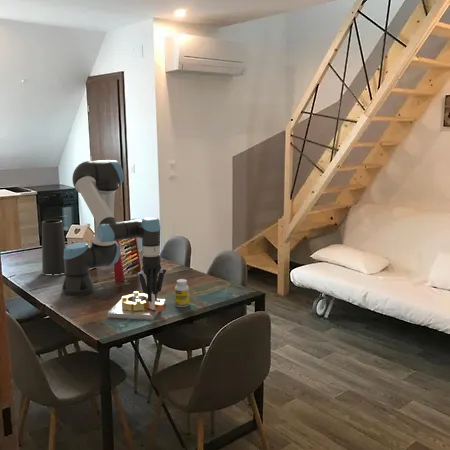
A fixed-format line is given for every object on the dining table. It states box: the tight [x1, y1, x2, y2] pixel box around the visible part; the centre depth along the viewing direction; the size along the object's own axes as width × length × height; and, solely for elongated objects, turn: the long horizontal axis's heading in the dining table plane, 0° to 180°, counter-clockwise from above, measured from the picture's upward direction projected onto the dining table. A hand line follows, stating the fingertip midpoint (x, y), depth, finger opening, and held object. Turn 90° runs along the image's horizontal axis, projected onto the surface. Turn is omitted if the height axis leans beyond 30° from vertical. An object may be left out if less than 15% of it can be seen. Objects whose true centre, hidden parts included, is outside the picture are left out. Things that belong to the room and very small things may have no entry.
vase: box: [41, 219, 67, 275], centre depth 281 cm, size 14×14×29 cm
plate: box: [107, 295, 166, 321], centre depth 226 cm, size 21×20×6 cm
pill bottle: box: [174, 278, 190, 308], centre depth 232 cm, size 6×6×12 cm
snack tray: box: [121, 290, 165, 313], centre depth 224 cm, size 21×13×4 cm, turn 59°
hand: (152, 308), depth 219 cm, fingers closed
